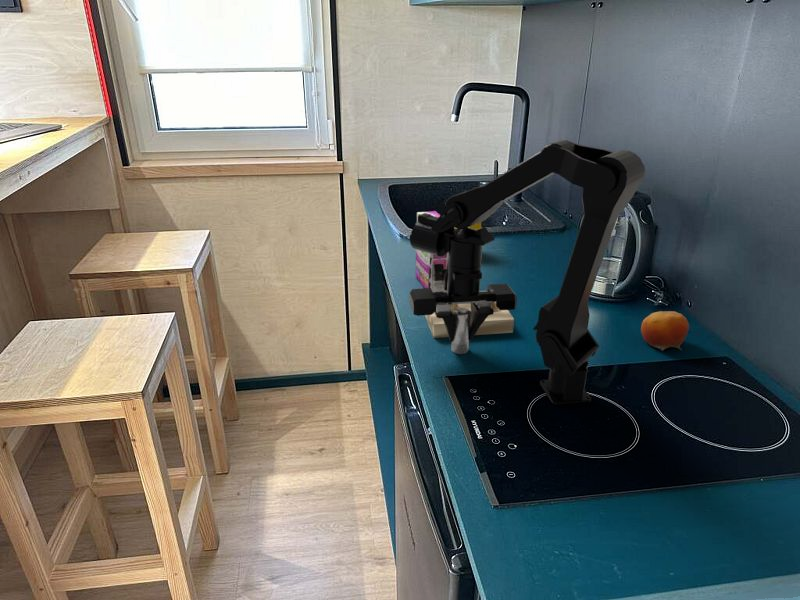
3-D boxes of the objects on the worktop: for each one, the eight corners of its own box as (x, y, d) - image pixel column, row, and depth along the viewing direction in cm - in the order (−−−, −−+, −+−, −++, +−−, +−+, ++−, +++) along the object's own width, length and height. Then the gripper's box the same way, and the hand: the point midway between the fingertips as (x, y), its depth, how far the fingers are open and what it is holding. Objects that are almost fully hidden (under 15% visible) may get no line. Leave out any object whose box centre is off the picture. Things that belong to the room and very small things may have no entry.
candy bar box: (449, 293, 128) (452, 224, 121) (428, 295, 127) (430, 226, 120) (434, 274, 138) (436, 209, 131) (414, 276, 137) (415, 211, 130)
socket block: (512, 332, 112) (514, 319, 110) (433, 337, 110) (434, 324, 108) (495, 305, 122) (496, 293, 121) (422, 310, 120) (423, 297, 119)
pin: (470, 353, 105) (472, 315, 101) (453, 354, 104) (455, 316, 101) (465, 344, 107) (468, 307, 104) (449, 345, 107) (451, 308, 103)
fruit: (665, 355, 101) (658, 311, 102) (637, 355, 109) (630, 314, 110) (703, 349, 103) (695, 306, 104) (672, 350, 111) (666, 310, 112)
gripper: (502, 244, 106) (496, 317, 113) (404, 248, 104) (404, 323, 111) (521, 266, 97) (513, 345, 103) (414, 272, 94) (413, 352, 101)
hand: (460, 340), depth 105 cm, fingers closed on pin, 3 cm apart
